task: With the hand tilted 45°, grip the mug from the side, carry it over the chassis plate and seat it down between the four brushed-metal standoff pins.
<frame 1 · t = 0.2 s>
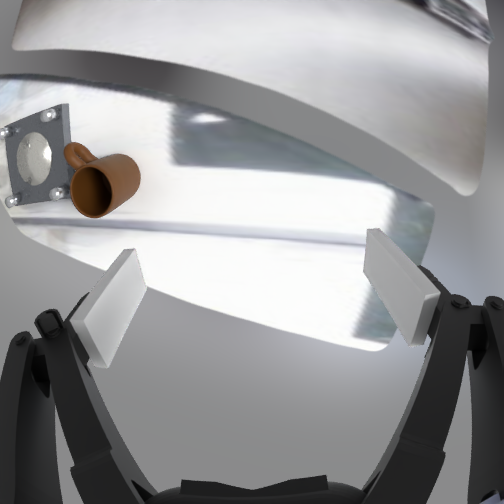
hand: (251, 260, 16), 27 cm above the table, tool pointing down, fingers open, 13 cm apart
mug: (113, 165, 40), on the table
chassis: (40, 156, 39), on the table
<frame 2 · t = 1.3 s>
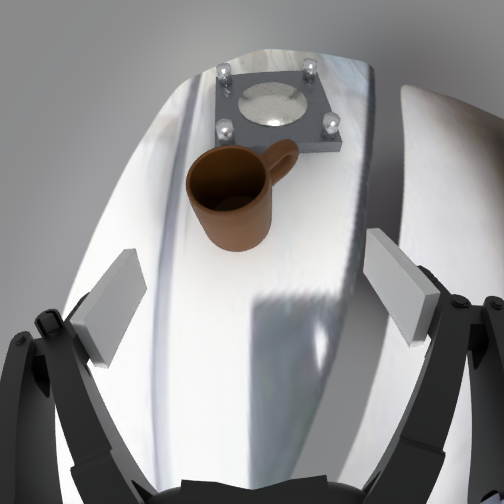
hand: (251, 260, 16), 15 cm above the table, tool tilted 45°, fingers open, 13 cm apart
mug: (253, 212, 33), on the table
chassis: (272, 112, 38), on the table
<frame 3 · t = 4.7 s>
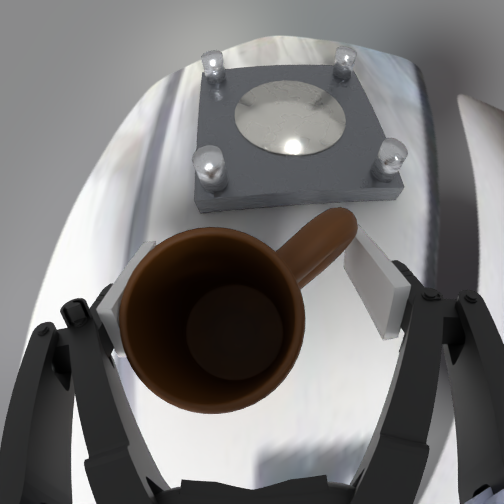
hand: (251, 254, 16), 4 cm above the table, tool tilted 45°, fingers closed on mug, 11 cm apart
mug: (260, 313, 20), on the table, touching gripper
chassis: (289, 128, 25), on the table
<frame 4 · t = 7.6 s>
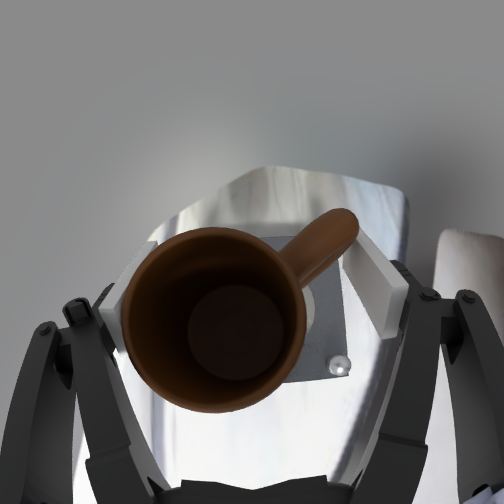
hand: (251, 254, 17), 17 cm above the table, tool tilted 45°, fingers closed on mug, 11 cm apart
mug: (261, 314, 20), point 12 cm above the table, touching gripper
chassis: (269, 311, 32), on the table
when the fingers open (8 cm above the table, at t = 10.1 s): mug drops 1 cm, resting on chassis.
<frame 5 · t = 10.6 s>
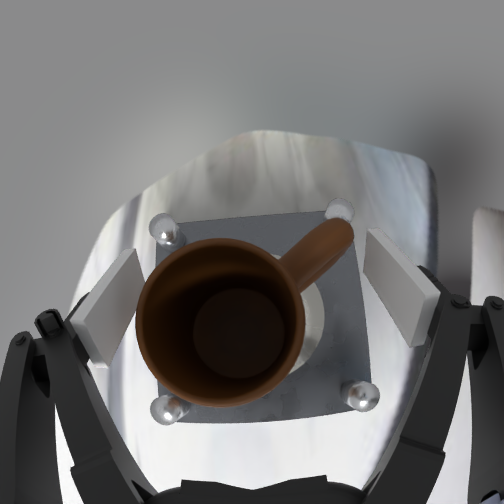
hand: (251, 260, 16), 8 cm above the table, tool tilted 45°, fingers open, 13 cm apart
mug: (263, 315, 21), point 2 cm above the table, touching chassis
chassis: (259, 318, 23), on the table
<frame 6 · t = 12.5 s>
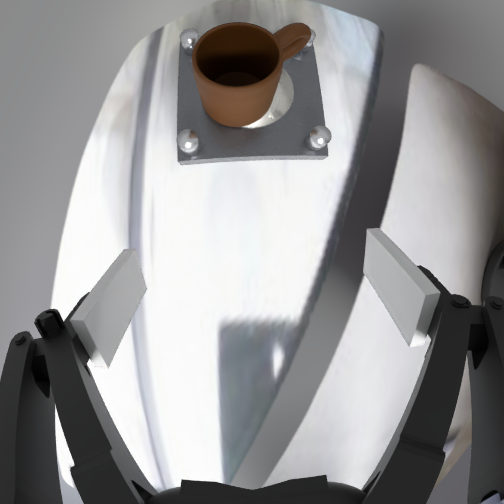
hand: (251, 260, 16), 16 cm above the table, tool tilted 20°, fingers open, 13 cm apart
mug: (253, 88, 28), point 2 cm above the table, touching chassis
chassis: (249, 96, 30), on the table
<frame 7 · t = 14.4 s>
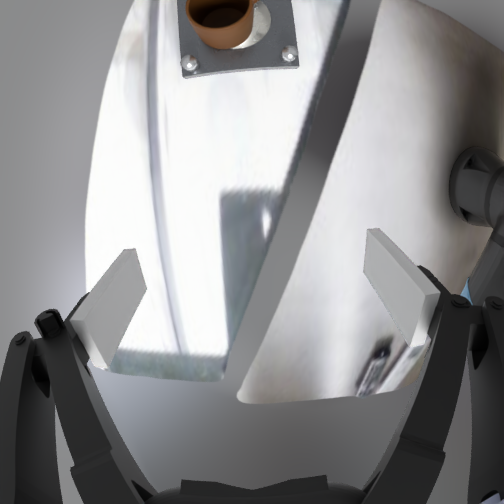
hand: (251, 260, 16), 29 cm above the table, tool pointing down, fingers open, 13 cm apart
mug: (237, 19, 30), point 2 cm above the table, touching chassis
chassis: (236, 24, 32), on the table
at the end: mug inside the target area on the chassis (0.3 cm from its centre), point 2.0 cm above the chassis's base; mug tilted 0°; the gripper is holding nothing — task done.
